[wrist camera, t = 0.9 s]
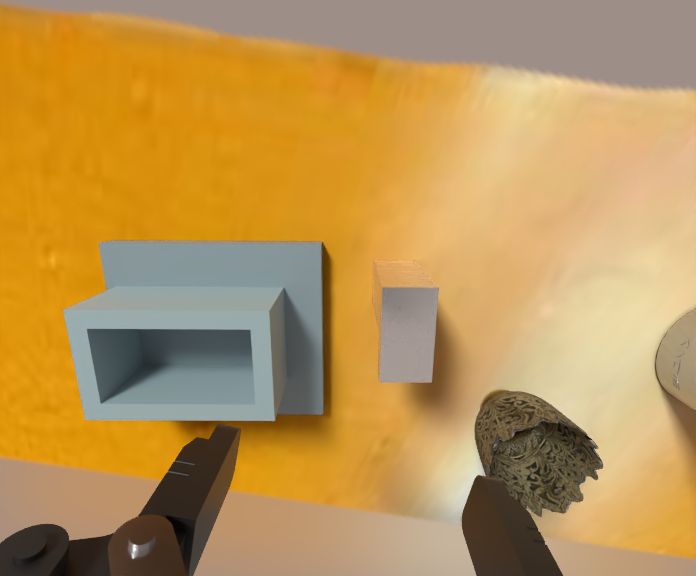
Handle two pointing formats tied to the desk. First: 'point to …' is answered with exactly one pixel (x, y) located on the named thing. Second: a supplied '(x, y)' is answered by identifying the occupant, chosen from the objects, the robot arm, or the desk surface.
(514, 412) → the cup
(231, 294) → the well board
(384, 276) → the grey painted wood block
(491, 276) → the desk surface
